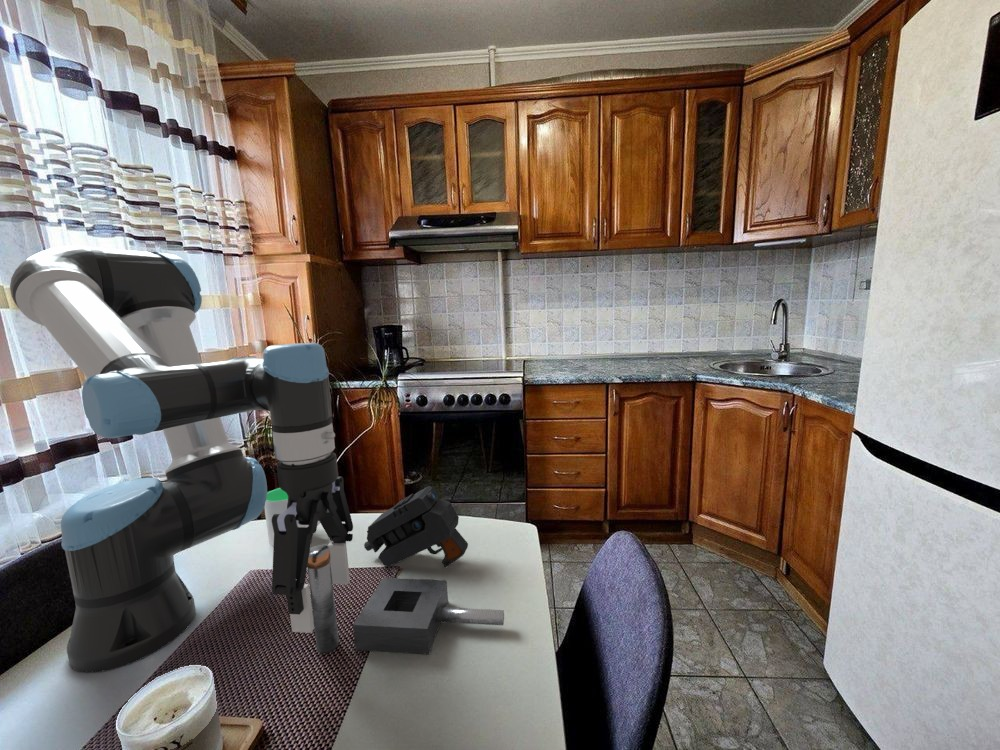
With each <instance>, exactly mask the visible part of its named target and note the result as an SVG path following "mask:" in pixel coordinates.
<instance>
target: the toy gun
mask: <svg viewBox="0 0 1000 750" xmlns="http://www.w3.org/2000/svg"><path fill="white" fill-rule="evenodd" d="M459 519H460V516H459V514H458V513H457V512H456V509H455V508H454V506H453V504H452V503H451V501H447V500H444V499H443V498H442V499H441V498H439V495H438V494H437V493H436V490H435V489H434V487H432V486H428V485H427V486H425V488H423V489H421V490H419V491H417V492H416V493H415V494H414V493H411V494H410V495H408V496H406V497H404V498H403V499H401V500H399V502H397V503H396V504H395V505H394V506H392V507H391V508H389V509H388V510H386V511H384V512H382V513H381V514H380V515H379V516H378V517H377V518H376V519H375V520H374V521H373V522H372V523H371V524H370V525H368V527H367V530H366V532H367V534H366V541H365V542H364V544H363V547H364V549H365V550H366V551H367V552H368V551H371V550H373V551H374V553H375V554H376V553H377V552H378V551H379V550H380V549H381V548H382V547H383V545H384V546H385V547H384V549H383V550H382V551H381V552H380V553H379V554H378V560H379V561H380V562H381V563H382V565H383V566H385V567H388V568H390V567H392V566H394V565H396V564H398V563H400V562H402V561H405V560H407V559H408V558H411V557H412V556H414V555H416V554H417V555H418V554H419V553H421V552H423V551H426V550H427V551H428V552H429V553H430V554H431V555H438V554H439V553H440V552H442V551H443V554H444V557H443V559H442V560H441V564H442V566H443V568H445V569H447V568H448V567H449V566H450V565H451V566H452V564H453V563H455V562H456V561H458V560H459V559H460V558H461V557H463V556H464V555H465V553H466V551H467V549H468V546H469V543H468V541H466V540H465V538H464V536H462V534H461V533H460V532H459V531H458V529H457V526H458V525H459ZM435 545H436V546H437V548H438V549H436V550H435V549H433V548H432V547H434V546H435Z"/></svg>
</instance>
